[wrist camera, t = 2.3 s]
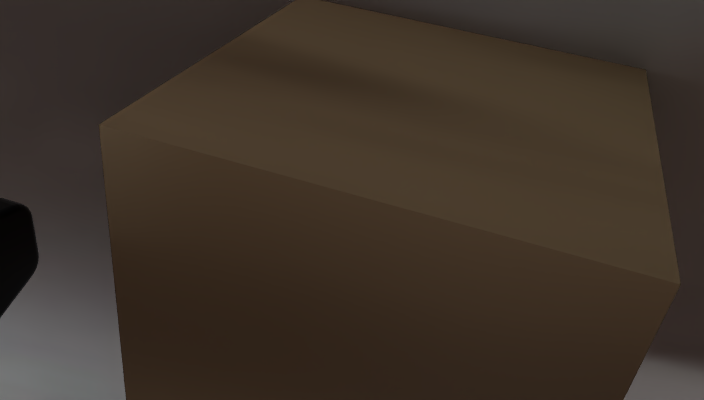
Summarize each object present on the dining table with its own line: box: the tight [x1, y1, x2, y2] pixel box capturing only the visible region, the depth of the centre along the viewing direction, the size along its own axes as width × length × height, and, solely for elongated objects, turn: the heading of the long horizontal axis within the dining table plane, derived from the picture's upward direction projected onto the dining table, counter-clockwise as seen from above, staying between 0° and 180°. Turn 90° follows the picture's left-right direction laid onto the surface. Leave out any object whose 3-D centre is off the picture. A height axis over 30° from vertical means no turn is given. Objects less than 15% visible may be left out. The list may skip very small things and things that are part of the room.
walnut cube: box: [99, 0, 681, 400], centre depth 9 cm, size 5×5×5 cm
